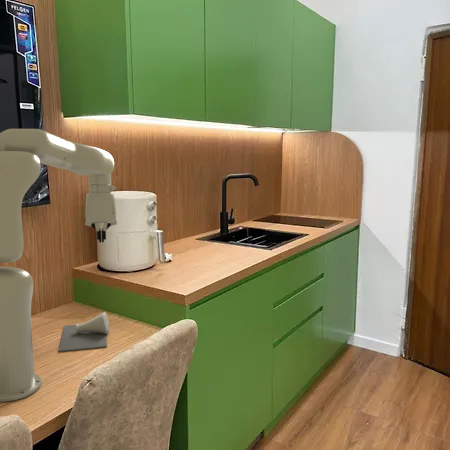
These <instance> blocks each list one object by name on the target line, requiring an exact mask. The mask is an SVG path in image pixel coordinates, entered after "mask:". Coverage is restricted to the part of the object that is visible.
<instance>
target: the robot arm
mask: <svg viewBox="0 0 450 450" xmlns="http://www.w3.org/2000/svg"><path fill="white" fill-rule="evenodd" d="M41 164H43V165H45V166H46V165H47V166H49V167H53V168H56V169H60V170H66V171H70V172H71V173H73V174H75V175H77V176H82V177H83V176H85V177H86V176H88V183H87V184H88V193H86V196H85V210H84V211H85V222H84V225H85V226H87V227H92V229H94V230H95V231H96V239H97V240H96V241H98V243H105V240H107V230H108V229H109V228H110V227H111V226H116V225H118V221H117V219H116V217H117V209H116V207H117V206H116V200H115V198H116V197H115V194H114V193H113V191H116V185H112V173H113V172H114V169H115V161H114V158H113V156H112V155H111V154H110V153H109V152H108V151H105V150H104V149H101V148H98V147H95V146H91V145H86V144H82V143H79V142H74V141H70V140H67V139H64V138H62V137H59V136H58V135H55V134H52V133H50V132H48V131H46V130H43V129H39V128H8V129H6V130H3V131H1V132H0V264H1V263H2V264H7V263H13V262H16V261H18V260H20V259H21V257H22V256H23V253H24V249H25V248H24V247H25V245H24V232H23V231H24V230H23V218H22V216H23V215H22V206H23V205H22V203H23V199H24V197H25V194H26V193H27V192H28V190H29V189H30V188H31V186H33V184H34V183H35V182H36V180H37V179H38V177H39V176H40V173H41ZM100 223H103V225H102V226H103V227H102V229H101V228H100ZM33 295H34V278H33V277H32V275H31V274H30V273H29V272H28V271H27V270H25V269H22V268H19V267H16V266H15V267H14V266H2V265H0V403H1V402H3V403H4V402H12V401H17V400H21V399H24V398H25V397H26V398H27V397H29V396H31V395H32V394H34V393H35V392H36V391H38V390H39V388H40V387H41V385H42V378H41V376H40V375H39V374H37V373H35V365H34V346H33V330H32V300H33Z"/></svg>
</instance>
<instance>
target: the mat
mask: <svg viewBox="0 0 450 450" xmlns="http://www.w3.org/2000/svg"><path fill="white" fill-rule="evenodd" d="M107 344H108V341H107V334H101V333H94V332H81V333H79V334H77V332H76V324H68V325H67V324H66V325H64V326H63V331H62V335H61V340H60V343H59V348H58V353H64V352H73V351H74V352H75V351H83V350H84V351H85V350H93V349H95V350H96V349H104V348H107V347H108V345H107Z"/></svg>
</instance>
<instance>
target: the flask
mask: <svg viewBox="0 0 450 450" xmlns="http://www.w3.org/2000/svg"><path fill="white" fill-rule="evenodd" d="M75 325H76V332H77V334H79V333H81V332H94V333H101V334H107V335H108V334H109V332H110V322H109V317H108V314H107V313H106V311H103V312H101V313H99V314H98V315H97V316H95V317H94V318H91V319H90V320H88V321H86V322H83V323H80V324H79V323H76V324H75Z"/></svg>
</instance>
